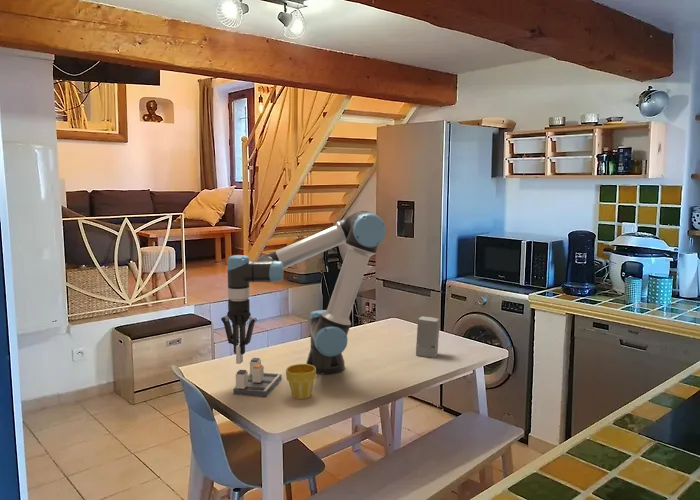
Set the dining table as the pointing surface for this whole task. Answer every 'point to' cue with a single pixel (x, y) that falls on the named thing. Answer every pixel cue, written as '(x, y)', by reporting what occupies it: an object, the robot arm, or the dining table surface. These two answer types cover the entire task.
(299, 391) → the plant pot
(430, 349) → the skincare box
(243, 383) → the breaker
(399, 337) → the dining table surface
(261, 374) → the block
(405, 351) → the dining table surface
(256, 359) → the block
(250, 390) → the panel
